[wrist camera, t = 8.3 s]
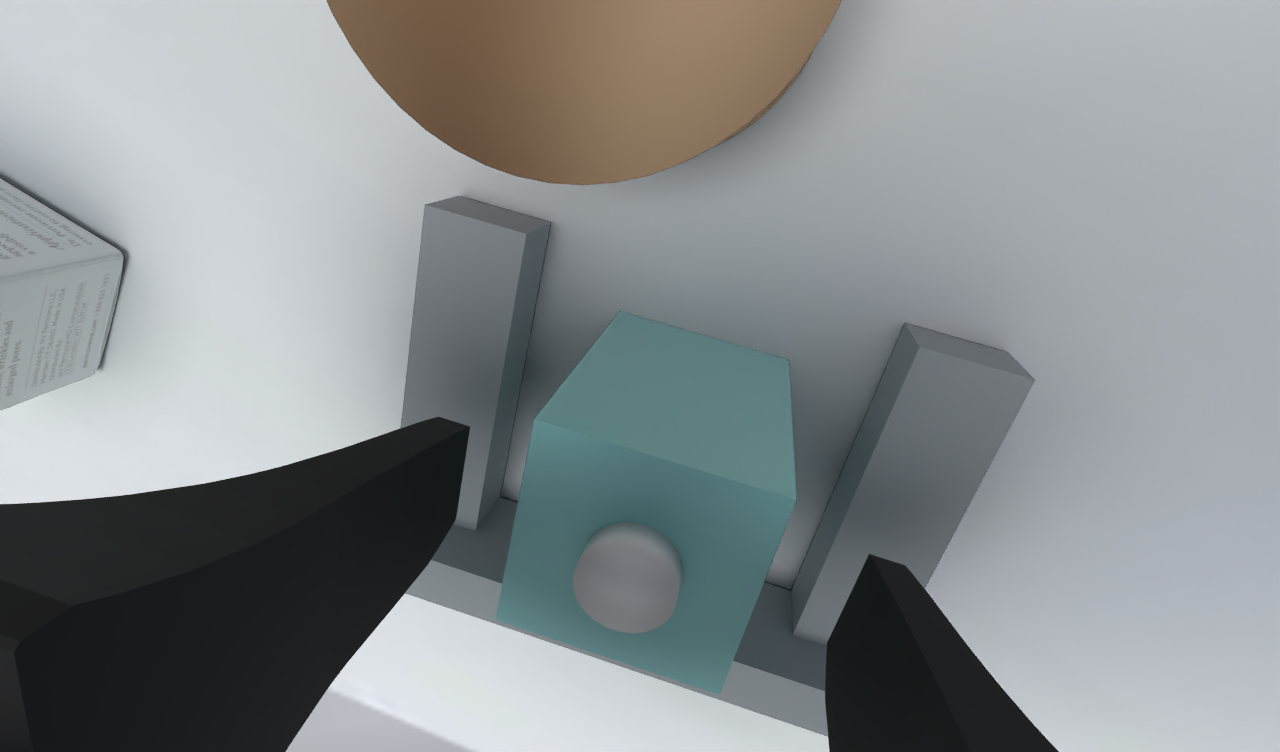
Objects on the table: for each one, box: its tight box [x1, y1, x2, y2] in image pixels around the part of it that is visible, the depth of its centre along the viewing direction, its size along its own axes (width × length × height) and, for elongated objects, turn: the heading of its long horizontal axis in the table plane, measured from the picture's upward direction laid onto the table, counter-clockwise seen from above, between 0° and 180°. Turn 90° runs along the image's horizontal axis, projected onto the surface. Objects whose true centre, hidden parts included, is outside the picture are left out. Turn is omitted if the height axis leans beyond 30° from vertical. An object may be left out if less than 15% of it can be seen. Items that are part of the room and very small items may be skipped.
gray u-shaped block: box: [401, 196, 1035, 736], centre depth 15 cm, size 12×9×3 cm
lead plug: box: [495, 311, 797, 695], centre depth 13 cm, size 4×4×7 cm
